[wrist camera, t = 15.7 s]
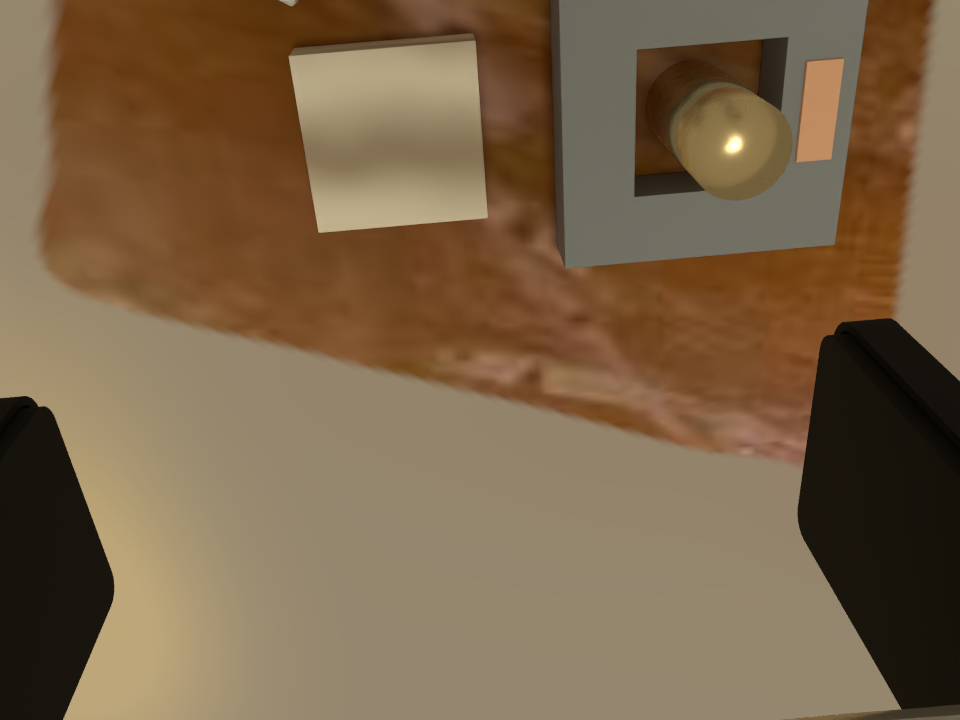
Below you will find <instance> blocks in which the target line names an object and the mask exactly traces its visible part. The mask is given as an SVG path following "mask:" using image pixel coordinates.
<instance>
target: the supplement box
mask: <svg viewBox="0 0 960 720" xmlns="http://www.w3.org/2000/svg"><path fill="white" fill-rule="evenodd" d="M279 1H281V2H283V3H285V4H287V5H289V6H293V5H295V4H296V3H297V2H298V0H279Z"/></svg>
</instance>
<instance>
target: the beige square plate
mask: <svg viewBox="0 0 960 720" xmlns="http://www.w3.org/2000/svg"><path fill="white" fill-rule="evenodd" d="M289 62H290V68H291V73H292V79H293V85H294V91H295V97H296V103H297V109H298V114H299V120H300V126H301V132H302V138H303V144H304V150H305V155H306V161H307V167H308V173H309V179H310V185H311V191H312V196H313V202H314V208H315V214H316V220H317V226H318V232H319V233H322V232H333V231H344V230H356V229H367V228H379V227H390V226H402V225H413V224H424V223H436V222H447V221H459V220H470V219H482V218H488V215H487V201H486V186H485V172H484V157H483V143H482V128H481V114H480V99H479V85H478V70H477V56H476V41H475V38H474V35H473V33H468V34H456V35H444V36H432V37H420V38H409V39H397V40H385V41H373V42H361V43H349V44H337V45H325V46H313V47H301V48H294V49H293V51H292V52H291V53H290V55H289Z"/></svg>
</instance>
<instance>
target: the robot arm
mask: <svg viewBox="0 0 960 720" xmlns="http://www.w3.org/2000/svg"><path fill="white" fill-rule="evenodd" d="M798 523H799V528H800V531H801V534H802V536H803V539H804V541H805V542H806V544H807V546H808V548H809V549H810V551H811V553H812V555H813V556H814V558H815V560H816V562H817V563H818V565H819V567H820V568H821V570H822V572H823V574H824V575H825V577H826V579H827V581H828V582H829V584H830V586H831V587H832V589H833V591H834V593H835V594H836V596H837V598H838V600H839V601H840V603H841V605H842V607H843V608H844V610H845V612H846V614H847V615H848V617H849V619H850V620H851V622H852V624H853V626H854V627H855V629H856V631H857V633H858V634H859V636H860V638H861V639H862V641H863V643H864V645H865V647H866V648H867V650H868V652H869V653H870V655H871V657H872V659H873V660H874V662H875V664H876V666H877V667H878V669H879V671H880V672H881V674H882V676H883V678H884V679H885V681H886V683H887V685H888V686H889V688H890V690H891V692H892V693H893V695H894V697H895V698H896V700H897V702H898V704H899V705H900V707H901V709H902V710H890V711H876V712H863V713H850V714H839V715H828V716H818V717H807V718H796V719H785V720H960V381H959V380H958V379H957V378H956V377H955V376H954V375H952V374H951V373H950V372H949V371H948V370H947V369H946V368H945V367H944V366H943V365H942V364H941V363H940V362H938V360H936V359H935V358H934V357H933V356H932V355H931V354H930V353H929V352H928V351H927V350H926V349H925V348H924V347H923V346H921V344H919V343H918V342H917V341H916V340H915V339H914V338H913V337H912V336H911V335H910V334H909V333H907V331H906V330H904V329H903V328H902V327H901V326H900V325H899V324H898V323H897V322H896V321H894V320H893V319H891V318H886V319H874V320H863V321H852V322H842V323H841V324H840V325H838V327H837V329H836V331H835V333H834V335H827V336H826V337H824V338H823V340H822V342H821V346H820V352H819V359H818V366H817V373H816V381H815V388H814V395H813V402H812V409H811V417H810V424H809V431H808V438H807V445H806V453H805V460H804V467H803V475H802V482H801V489H800V496H799V504H798ZM113 596H114V579H113V574H112V571H111V568H110V566H109V563H108V560H107V557H106V555H105V552H104V549H103V547H102V544H101V541H100V539H99V536H98V533H97V530H96V528H95V525H94V522H93V519H92V517H91V514H90V512H89V509H88V506H87V503H86V501H85V498H84V495H83V492H82V490H81V487H80V484H79V482H78V479H77V476H76V473H75V471H74V468H73V466H72V463H71V460H70V457H69V455H68V452H67V449H66V446H65V444H64V441H63V438H62V436H61V433H60V430H59V428H58V425H57V422H56V420H55V417H54V415H53V414H52V412H51V410H50V409H49V408H47V407H45V406H43V407H38V405H37V404H36V402H35V401H34V400H33V399H32V398H30V397H27V396H22V397H11V398H0V720H63V718H64V716H65V713H66V711H67V709H68V706H69V704H70V701H71V699H72V697H73V694H74V692H75V690H76V687H77V685H78V683H79V680H80V678H81V676H82V673H83V671H84V669H85V666H86V664H87V661H88V659H89V657H90V654H91V652H92V650H93V647H94V645H95V643H96V640H97V638H98V635H99V633H100V631H101V628H102V626H103V624H104V621H105V619H106V616H107V614H108V612H109V610H110V607H111V604H112V601H113Z"/></svg>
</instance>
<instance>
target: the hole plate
mask: <svg viewBox="0 0 960 720" xmlns="http://www.w3.org/2000/svg"><path fill="white" fill-rule="evenodd" d="M867 7H868V0H550V20H551V55H552V90H553V126H554V161H555V196H556V231H557V247H558V250H559V252H560V255H561V258H562V260H563V263H564V266H565V268H576V267H588V266H599V265H610V264H621V263H633V262H644V261H655V260H667V259H678V258H689V257H700V256H712V255H723V254H734V253H746V252H757V251H768V250H779V249H791V248H802V247H813V246H824V245H834V244H835V237H836V230H837V223H838V216H839V208H840V201H841V194H842V187H843V180H844V172H845V165H846V158H847V151H848V144H849V136H850V129H851V122H852V115H853V108H854V100H855V93H856V86H857V79H858V72H859V64H860V57H861V50H862V43H863V36H864V29H865V21H866V14H867ZM758 39H763V47H762V59H761V71H760V82H759V94H758V96H759V97H760V98H762V99H763V100H765V101H766V102H768V103H770V104H771V105H773V106H774V107H776V108H777V109H778V110H779V111H780V112H781V113H782V114H783V115H784V116H785V118H786V119H787V121H788V123H789V125H790V128H791V132H792V138H793V146H792V153H791V157H790V160H789V162H788V165H787V167H786V169H785V170H784V172H783V174H782V175H781V176H780V178H779V179H778V180H777V181H776V182H775V183H774V184H773V185H772V186H771V187H770V188H768V189H767V190H765V191H764V192H762V193H761V194H759V195H757V196H754V197H752V198H749V199H745V200H739V201H730V200H723V199H719V198H717V197H715V196H713V195H711V194H709V193H708V192H707V191H705V190H704V189H703V188H702V187H701V185H700V184H699V183H698V182H697V181H696V180H695V179H694V178H693V177H692V175H691V174H690V173H689V172H678V173H666V174H655V175H643V176H635V121H636V65H637V50H639V49H651V48H663V47H675V46H687V45H699V44H710V43H722V42H734V41H746V40H758Z"/></svg>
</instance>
